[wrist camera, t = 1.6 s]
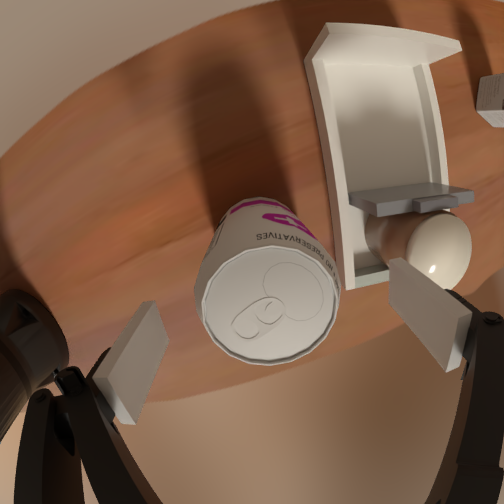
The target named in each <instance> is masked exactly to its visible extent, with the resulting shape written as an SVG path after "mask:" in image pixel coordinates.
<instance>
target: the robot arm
mask: <svg viewBox="0 0 504 504" xmlns="http://www.w3.org/2000/svg"><path fill="white" fill-rule="evenodd" d="M389 304H390V305H391V307H392V308H393V309H394V310H395V311H396V312H397V313H398V315H399V316H400V317H401V318H402V319H403V320H404V322H405V323H406V324H407V325H408V326H409V328H410V329H411V330H412V331H413V332H414V333H415V335H416V336H417V337H418V338H419V339H420V341H421V342H422V343H423V344H424V346H425V347H426V348H427V349H428V351H429V352H430V353H431V354H432V355H433V357H434V358H435V359H436V360H437V362H438V363H439V364H440V366H441V367H442V368H443V369H444V371H445V372H448V371H450V370H453V369H455V368H457V367H459V365H460V362H461V358H462V356H463V357H464V358H465V359H466V360H467V362H466V365H465V368H464V371H463V375H462V378H461V380H463V382H462V388H461V393H460V398H459V403H458V407H457V412H456V416H455V420H454V424H453V428H452V431H451V435H450V438H449V442H448V445H447V448H446V452H445V454H444V457H443V461H442V463H441V466H440V469H439V471H438V474H437V477H436V479H435V482H434V484H433V487H432V489H431V492H430V494H429V496H428V498H427V500H426V502H425V504H497V500H498V497H499V493H500V489H501V486H502V481H503V476H504V470H503V468H500V467H499V460H500V455H501V449H502V443H503V436H504V319H503V317H502V316H501V315H499V314H497V313H495V312H483V313H482V312H480V311H479V310H478V309H477V308H475V307H474V306H473V305H472V304H470V303H469V302H467V301H466V300H465V299H464V298H462V297H461V296H460V295H459V294H458V293H456V292H454V291H452V290H449V289H443V288H441V287H440V286H439V285H437V284H436V283H435V282H434V281H432V280H431V279H430V278H428V277H427V276H426V275H424V274H423V273H422V272H420V271H419V270H418V269H416V268H415V267H413V266H412V265H411V264H409V263H408V262H407V261H405V260H404V259H402V258H401V257H400V258H395V259H390V260H389ZM168 343H169V339H168V336H167V333H166V331H165V328H164V325H163V323H162V320H161V317H160V314H159V311H158V308H157V305H156V303H155V300H154V301H147V302H143V303H142V304H141V305H140V307H139V308H138V310H137V311H136V312H135V314H134V315H133V317H132V318H131V320H130V321H129V322H128V324H127V325H126V327H125V328H124V330H123V331H122V333H121V334H120V336H119V337H118V339H117V340H116V342H115V343H114V345H113V346H112V347H109V348H108V349H107V350H105V351H104V352H103V353H102V354H101V356H100V357H99V358H98V361H96V363H95V364H94V366H93V367H92V369H91V370H90V372H89V373H88V375H87V376H86V378H84V376H83V374H82V372H81V371H80V369H79V368H78V367H76V366H70V367H67V366H68V363H69V352H68V347H67V344H66V341H65V338H64V336H63V334H62V332H61V330H60V328H59V326H58V325H57V323H56V321H55V320H54V318H53V317H52V316H51V314H50V313H49V312H48V311H47V310H46V308H45V307H44V306H43V305H42V304H41V303H40V302H39V301H37V300H36V299H35V298H34V297H32V296H31V295H29V294H28V293H26V292H23V291H21V290H16V289H12V290H8V291H6V292H5V293H3V294H2V295H0V444H1V441H2V439H3V437H4V436H5V434H6V433H7V431H8V429H9V428H10V426H11V425H12V423H13V422H14V420H15V419H16V417H17V416H18V414H19V413H20V411H21V410H22V408H23V407H24V405H25V404H26V402H27V401H28V399H29V398H30V399H29V402H28V406H27V410H26V415H25V419H24V425H23V429H22V434H21V440H20V446H19V452H18V460H17V467H16V477H15V488H14V504H85V501H84V492H83V483H82V472H81V460H82V463H83V466H84V468H85V471H86V474H87V476H88V479H89V481H90V484H91V486H92V489H93V491H94V493H95V495H96V498H97V500H98V502H99V504H163V503H162V502H161V500H160V499H159V498H158V496H157V495H156V493H155V492H154V490H153V489H152V487H151V486H150V484H149V483H148V481H147V480H146V478H145V477H144V475H143V473H142V472H141V470H140V469H139V467H138V465H137V463H136V462H135V460H134V458H133V457H132V455H131V453H130V451H129V450H128V448H127V446H126V444H125V442H124V440H123V439H122V437H121V435H120V433H119V431H118V429H117V427H116V425H115V424H114V422H113V419H114V417H115V415H116V416H117V418H118V419H119V421H120V422H121V423H122V424H134V425H136V423H137V421H138V418H139V415H140V413H141V410H142V408H143V405H144V403H145V400H146V397H147V395H148V392H149V390H150V387H151V385H152V382H153V380H154V377H155V375H156V372H157V370H158V367H159V365H160V362H161V360H162V358H163V355H164V353H165V350H166V348H167V346H168ZM52 382H55V383H56V385H57V386H58V388H59V390H60V391H61V393H62V394H63V395H60V396H53V394H52V393H51V391H50V390H49V389H46V388H44V389H42V388H43V387H45V386H47V385H49V384H51V383H52Z"/></svg>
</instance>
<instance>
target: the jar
mask: <svg viewBox="0 0 504 504" xmlns="http://www.w3.org/2000/svg"><path fill="white" fill-rule="evenodd" d="M365 240H366V244H367V246H368V248H369V250H370V252H371V253H372V254H373V255H374V256H375V257H376V258H378V259H379V260H380V261H381V262H383V263H384V264H385V265H386V266H387V267H389V260H390V259H395V258H400V257H401V258H402V259H404V260H405V261H407V262H408V263H409V264H411V265H412V266H413V267H415V268H416V269H418V270H419V271H420V272H422V273H423V274H424V275H426V276H427V277H428V278H430V279H431V280H432V281H434V282H435V283H436V284H437V285H439V286H440V287H441V288H443V289H449V290H451V289H452V288H453V287H454V286H455V285H456V284H457V283H458V282H459V281H460V280H461V278H462V277H463V275H464V273H465V271H466V269H467V267H468V264H469V261H470V257H471V250H472V243H471V236H470V232H469V230H468V228H467V226H466V224H465V223H464V222H463V221H462V220H461V219H459V218H458V217H457V216H455V215H454V214H453V213H451V212H449V211H446V210H437V211H431V212H425V213H419V212H416V211H413V212H407V213H400V214H394V215H388V216H382V217H376V216H374V215H372V214H369V215H368V218H367V221H366V224H365Z"/></svg>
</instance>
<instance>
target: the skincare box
mask: <svg viewBox="0 0 504 504" xmlns="http://www.w3.org/2000/svg"><path fill="white" fill-rule="evenodd" d="M476 111H477V112H478V113H479V114H480V115H481V116H482V117H483V118H484V119H485V120H486V121H487V122H489V123H490V124H491V125H492V126H493V127H504V73H502V74H495V75H490V76H484V77H481V78H480V83H479V89H478V96H477V104H476Z"/></svg>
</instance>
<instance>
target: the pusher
mask: <svg viewBox="0 0 504 504" xmlns="http://www.w3.org/2000/svg"><path fill="white" fill-rule="evenodd" d="M348 201H349V205H352V206H354V207H356V208H358V209H361V210H363V211H365V212H367V213H369V214H372V215H374V216H376V217H382V216H388V215H394V214H400V213H407V212H413V211H416V212H419V213H425V212H431V211H437V210H443V209H449V208H455V207H458V204H464V203H470V202H474V191H473V190H469V189H464V188H459V187H454V186H449V185H444V184H439V183H433V182H429V183H420V184H411V185H403V186H394V187H386V188H379V189H371V190H364V191H356V192H349V193H348Z"/></svg>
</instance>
